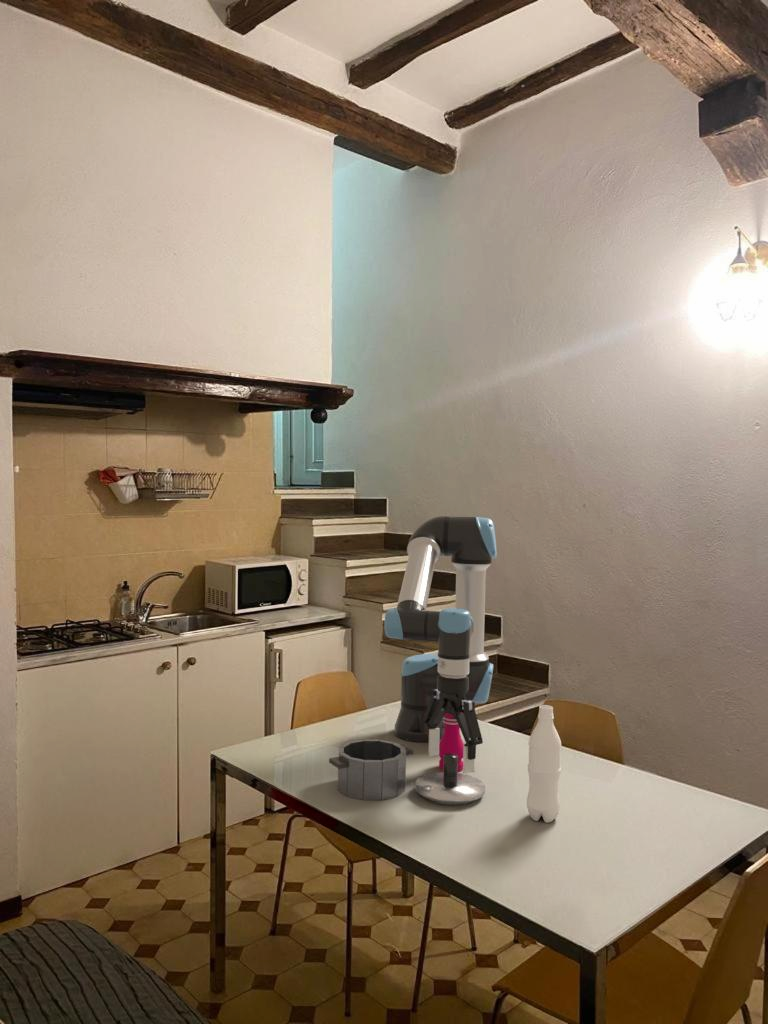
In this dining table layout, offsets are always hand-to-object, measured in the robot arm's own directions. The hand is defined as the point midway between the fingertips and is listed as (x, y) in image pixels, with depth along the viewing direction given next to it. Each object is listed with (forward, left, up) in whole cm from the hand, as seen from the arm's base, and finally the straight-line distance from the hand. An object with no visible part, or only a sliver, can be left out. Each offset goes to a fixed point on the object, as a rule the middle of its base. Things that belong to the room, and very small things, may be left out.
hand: (450, 763), depth 189 cm
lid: (0, 0, -8) cm, 8 cm away
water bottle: (-10, +21, -8) cm, 24 cm away
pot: (+14, -13, -8) cm, 21 cm away
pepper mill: (-11, -14, -8) cm, 20 cm away
